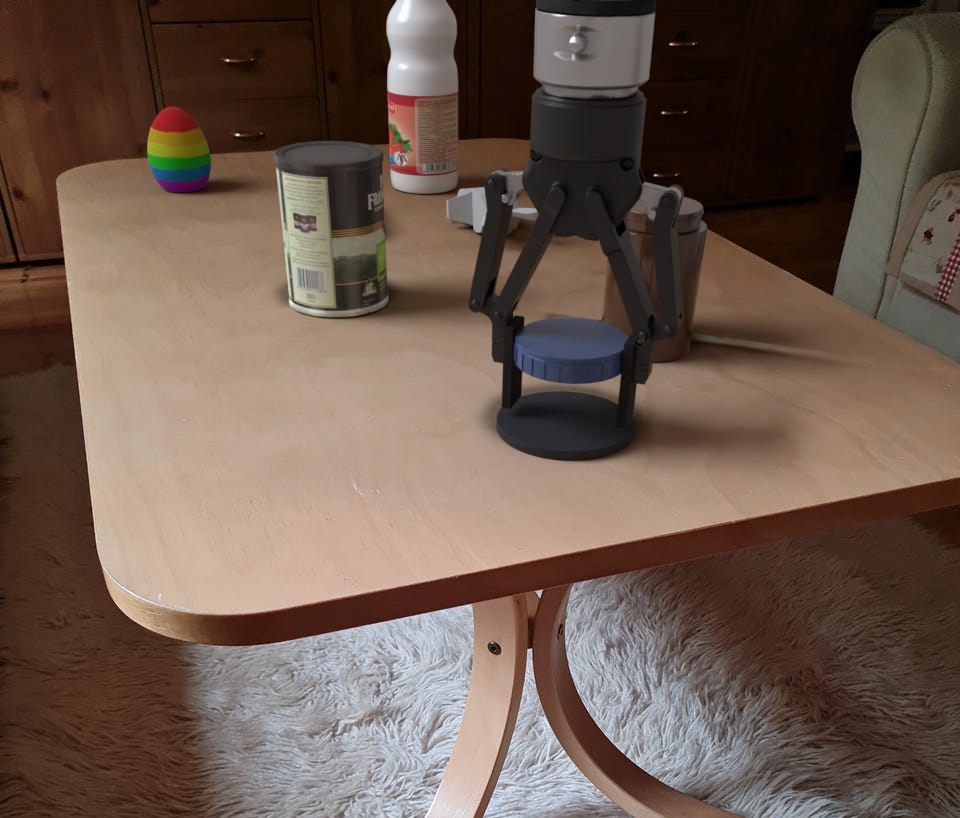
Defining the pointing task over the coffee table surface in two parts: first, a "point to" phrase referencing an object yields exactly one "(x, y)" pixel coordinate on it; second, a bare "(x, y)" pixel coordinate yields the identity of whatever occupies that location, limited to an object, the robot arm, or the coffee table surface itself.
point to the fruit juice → (422, 96)
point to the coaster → (564, 426)
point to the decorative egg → (178, 152)
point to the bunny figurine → (481, 209)
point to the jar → (642, 242)
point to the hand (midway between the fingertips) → (567, 410)
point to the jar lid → (570, 350)
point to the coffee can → (333, 227)
